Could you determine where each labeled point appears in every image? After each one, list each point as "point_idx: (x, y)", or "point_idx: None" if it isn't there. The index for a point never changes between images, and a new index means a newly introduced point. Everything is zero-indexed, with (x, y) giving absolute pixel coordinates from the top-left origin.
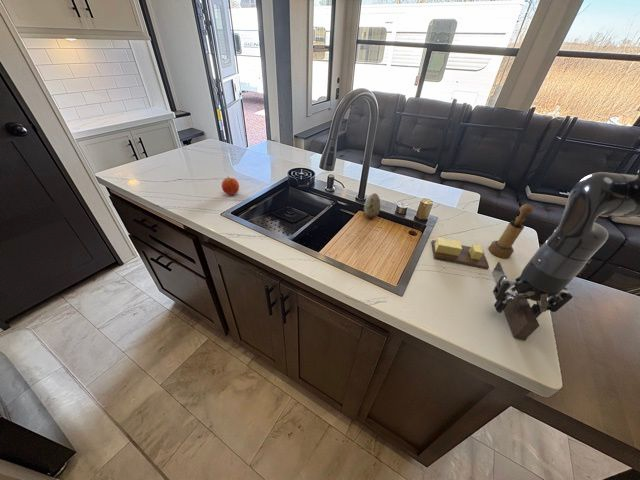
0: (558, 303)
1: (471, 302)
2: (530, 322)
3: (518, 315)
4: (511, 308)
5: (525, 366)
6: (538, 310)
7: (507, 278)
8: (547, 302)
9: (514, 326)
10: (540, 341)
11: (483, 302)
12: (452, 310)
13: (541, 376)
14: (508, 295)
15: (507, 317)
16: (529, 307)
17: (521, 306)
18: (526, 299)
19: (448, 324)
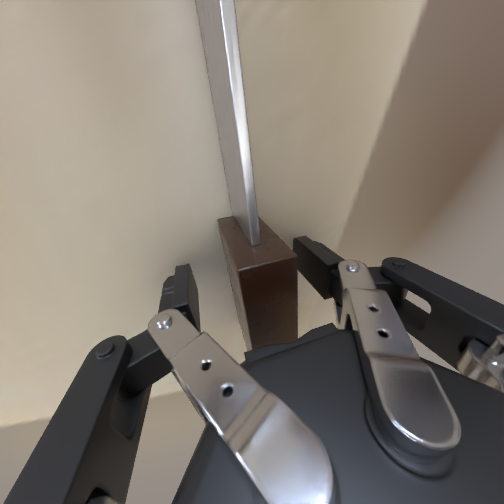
0: (429, 348)
1: (84, 255)
2: None
3: (246, 336)
4: (233, 280)
5: None
6: (328, 295)
7: (228, 21)
8: (387, 284)
9: (239, 317)
10: (302, 293)
11: (137, 227)
12: (24, 334)
13: None
14: (234, 184)
15: (228, 271)
16: (291, 329)
17: (256, 344)
18: (295, 287)
19: (43, 384)
